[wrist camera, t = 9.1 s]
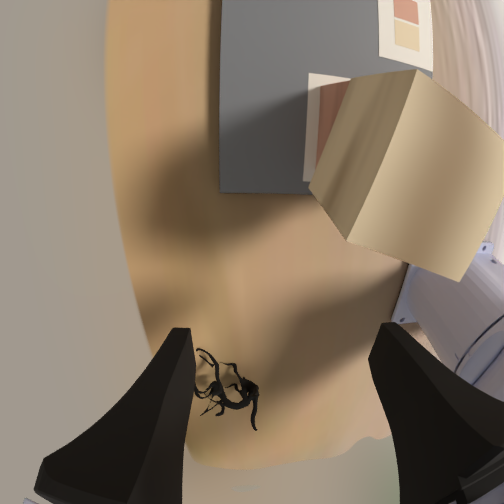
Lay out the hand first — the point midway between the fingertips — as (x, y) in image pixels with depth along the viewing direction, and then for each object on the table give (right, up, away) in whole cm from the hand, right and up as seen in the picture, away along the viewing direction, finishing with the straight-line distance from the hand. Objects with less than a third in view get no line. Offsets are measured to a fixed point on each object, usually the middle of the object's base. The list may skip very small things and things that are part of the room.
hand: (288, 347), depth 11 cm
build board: (+3, +14, +4) cm, 15 cm away
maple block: (+4, +8, +1) cm, 9 cm away
